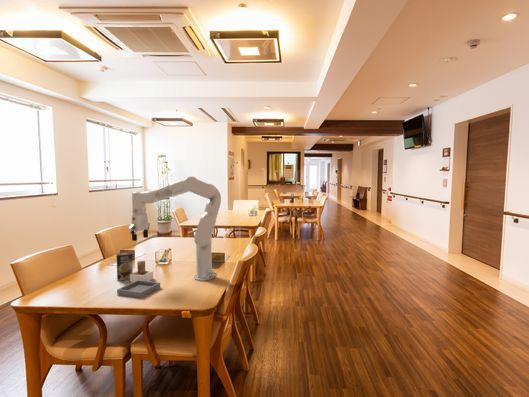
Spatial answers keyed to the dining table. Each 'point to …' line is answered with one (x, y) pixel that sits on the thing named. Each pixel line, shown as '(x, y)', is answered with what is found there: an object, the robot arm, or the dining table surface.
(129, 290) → the tray
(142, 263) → the dowel
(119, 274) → the coffee box
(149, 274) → the white square block
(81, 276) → the dining table surface
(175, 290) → the dining table surface
